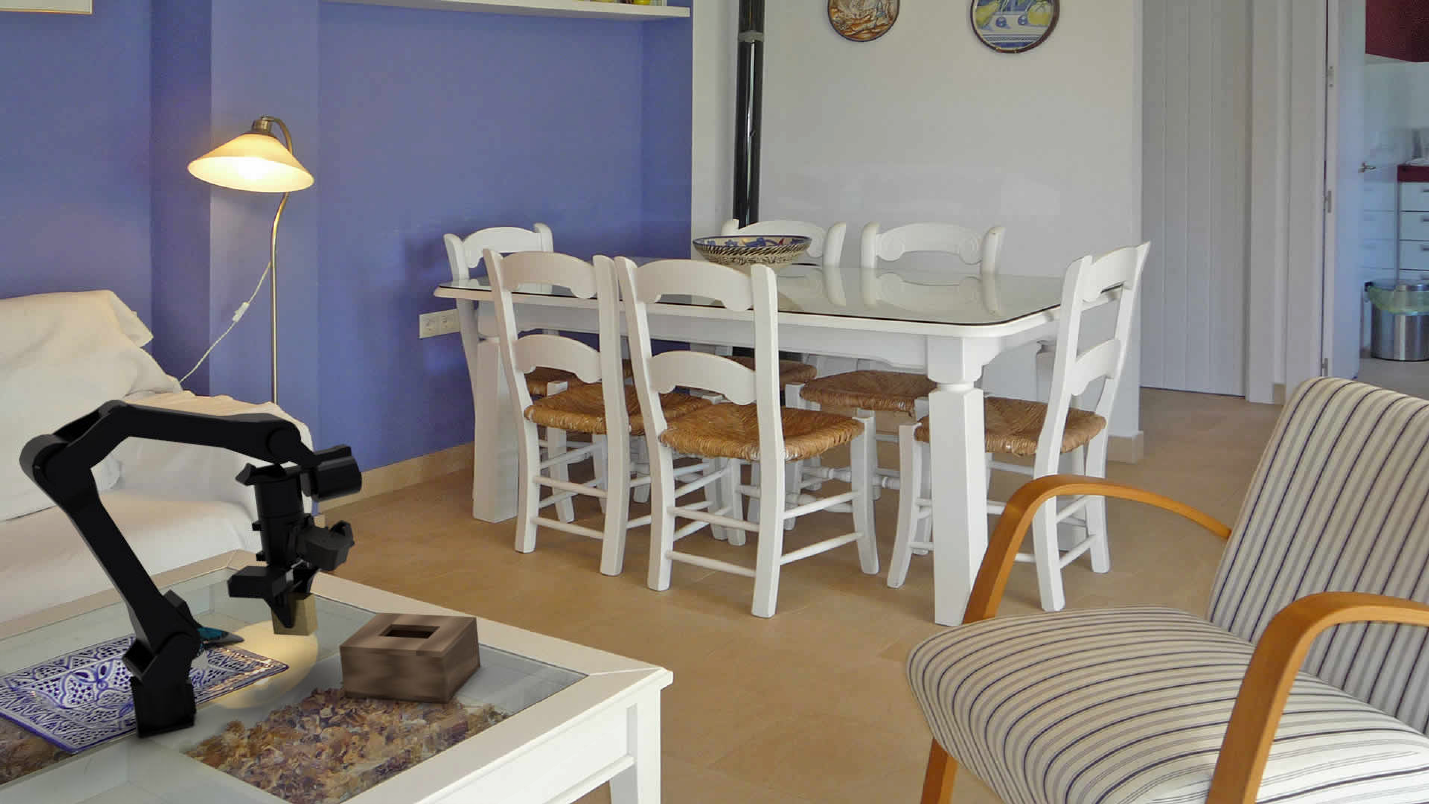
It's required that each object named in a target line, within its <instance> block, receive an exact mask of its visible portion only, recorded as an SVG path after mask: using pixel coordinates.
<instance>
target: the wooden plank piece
mask: <svg viewBox="0 0 1429 804" xmlns="http://www.w3.org/2000/svg"><path fill="white" fill-rule="evenodd" d="M270 613H271V615H270V616H271V621H272V629H273V635H276V636H277V635H279V636H280V635H281V636H297V637H298V636H299V637H300V636H301V637H310V636H311V635H312V634H313V633H314V632H316V631H317V630H318V629H319V624H318V616H317V615H318V614H317V609H316V598H315V592H310V593H302V592H294V627H293V628H292V629H288V628H285V627H284V626H283V625H282V623H281V622H280V621H279V619H278V618H277V616H276V615H275V614H274V612H273V611H272V610H271V609H270Z"/></svg>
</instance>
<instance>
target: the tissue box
mask: <svg viewBox="0 0 1429 804" xmlns="http://www.w3.org/2000/svg"><path fill="white" fill-rule="evenodd" d="M338 647H339V655H340V664H341V673H342V681H343V690H344V697H345V698H356V699H357V698H358V699H359V698H360V699H373V700H375V699H376V700H391V701H404V702H406V701H407V702H408V701H409V702H423V703H436V704H437V703H439V704H447V703H449V701H451V699H452V698H453V697H454V696H455V695H456V694H457V693H458V691H460V689H461V688H462V687H463V686H464V685H465V684H466V683H467V681H468V680H469V679H470V678H471V677H472V676H473V675H474V674H475V673H476V672H477V671H478V670H479V668H480V667H481V666H482V665H481V656H480V645H479V634H478V622H477V616H464V615H463V616H460V615H459V616H457V615H438V614H417V613H416V614H415V613H399V612H395V613H394V612H378V613H377V614H376V615H375V616H374V617H372V618H371V619H370V620H368V621H367V622H366V623H365V624H363V626H361V627H360V628H359V629H358V630H357V631H355V632H354V633H353V634H352V635H351V636H350V637H348V638H347V639H346V640H344V641H343V642H342V643H341V644H340V645H339V646H338Z"/></svg>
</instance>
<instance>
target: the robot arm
mask: <svg viewBox="0 0 1429 804" xmlns="http://www.w3.org/2000/svg"><path fill="white" fill-rule="evenodd" d="M128 438H139V439H147V440H155V441H161V442H162V441H163V442H170V443H179V444H187V445H196V446H205V447H212V448H219V449H220V448H221V449H225V450H227V451H231V452H235V453H237V454H241V455H244V456H247V457H250V458H252V459H256V460H259V461H262V462H266V463H270V464H268V465H263V466H258V467H257V466H256V465H254V464H252V463H250V462H246V463H245V466H244V468H243V469H242V470H241V471H240V472H238V474H236V476H235V477H234V480H235V481H236V482H238V483H240V484H241V485H243V486H245V487H251V486H253V491H254V499H255V504H256V505H255V506H256V513H257V520H255V521H254V522H252V523H251V530H252V532H259V536H260V542H261V543H260V544H261V550H260V551H258V552H255V561H256V562H265V565H246V566H244V567H242V568H241V569H239V570H238V571H236V572H235V573H233V574H232V575H231V576H230V577H229V578H228V579H227V581H226V586H227V588H226V589H227V595H228V597H229V598H236V599H238V598H239V599H257V600H260V599H262V600H263V601H264V602H265V603H266V604H267V605H268V607H269V608H270V611H271V610H272V611H273V612H274V614H275V615H276V616H277V618H278V619H279V621H280V622H281V623H282V625H283V626H284V627H285V628H288V629H292V628H293V627H294V592H302V593H311V590H312V586H313V582H314V579H315V577H316V575H317V574H318V573H320V571H325V572H334V571H335V570H337V568H338V567H339V566H341V565H342V564H345V563H346V562H347V559H348V556H349V551H350V550H351V549H352V548H353V547H354V546H355V545H356V542H355V540H354V534H353V530H352V525H351V523H350V522H348V521H345V520H342V519H341V520H339V521H337V522H336V523H334V524H333V525H332V526H331V527H330V526H328V525H325V526H324V527H321V526H317V525H316V523H315V522H316V521H315V517H314V516H313V515H312V512H305V506H304V498H303V495H304V496H305V497H306V498H310V499H311V500H312V501H313V502H314V503H318V504H319V503H323V502H326V501H330V500H336V499H339V498H343V497H348V496H351V495H355V494H356V495H357V494H358V493H360V492H361V490H362V486H363V475H362V471H361V470H360V469H359V465H358V462H357V460H356V458H355V456H353V454H352V447H351V446H350V445H347V444H345V443H342V444H337V445H336V444H335V445H334V446H333V447H330V448H325V449H320V450H316V451H313V450H311V449H310V448H309V447H308V446H307V445H306V444H305V443H304V442H303V441H302V435H301V431H300V430H299V428H298V426H297V425H296V424H295V423H293V422H292V421H289V420H287V419H285V418H282V417H281V416H280V417H279V416H278V415H275V414H272V413H270V412H250V413H249V412H248V413H243V412H242V413H236V414H231V415H230V414H229V415H216V414H208V413H201V412H194V411H188V410H187V411H186V410H179V409H171V408H166V407H158V406H150V405H144V404H136V403H129V402H125V401H124V400H120V399H111V400H108V401H105V402H103V403H102V404H101V405H100V406H98V407H97V408H95V409H94V410H92V411H91V412H89V413H87V414H84V415H83V416H81V417H78V418H76V419H74V420H72V421H70V422H68V423H66V424H64V425H62V426H61V427H59V428H58V429H57V430H54V431H53V432H52V433H47V434H45V433H44V434H40V435H37V436H35V437H32V438H31V439H29V440H28V441H27V442H26V443H25V445H24V446H23V447H22V449H21V452H20V455H19V458H18V462H19V466H20V469H21V470H22V472H23V473H24V474H25V476H27V477H28V479H29V480H31V481H32V483H33V484H34V485H35V486H36V487H38V489H40V491H42V493H43V494H45V495H46V497H48V498H49V499H50V500H51V502H53V503H54V504H55V506H57V507H58V508H59V509H60V510H61V511H62V512H63V513H64V514H65V515H66V517H67V518H68V520H69V522H70V523H71V524H72V526H73V527H74V528H75V530H76V531H77V533H78V535H79V536H80V537H81V539H82V540H83V542H84V544H85V545H86V547H87V548H88V550H89V551H90V553H91V554H92V556H93V557H94V558H95V560H96V561H97V563H98V564H99V566H100V567H101V569H102V571H103V572H104V574H105V575H106V576H107V578H108V579H109V581H110V582H111V584H112V586H113V587H114V588H115V589H116V591H117V593H118V594H119V596H120V597H121V598H122V600H123V602H124V603H125V606H126V609H127V613H128V617H129V621H130V624H131V627H132V628H133V631H134V633H135V636H136V637H135V639H134V640H133V641H132V643H131V644H130V645H129V647H128V648H127V649H126V651H124V653H123V654H122V656H121V658H120V660H121V662H122V664H123V665H124V667H125V668H126V670H127V671H128V672H129V673H131V674H132V675H131V676H129V685H130V690H131V692H130V693H131V696H132V697H131V698H132V703H133V709H134V721H135V730H136V737H137V738H145V737H149V736H153V735H157V734H161V733H166V732H170V731H174V730H179V729H182V728H187V727H191V726H194V725H195V719H194V716H195V715H196V714H197V713H198V712H197V711H198V710H197V704H196V699H195V690H194V685H193V680H192V677H191V676H190V673H191V669H192V667H191V664H192V660H193V659H194V658H195V657H196V655H197V654H198V652H199V650H200V647H201V644H202V645H203V643H202V637H201V635H200V632H199V631H198V630H197V629H200V628H202V627H203V626H204V625H202V624H201V623H200V621H198V622H197V619H196V618H194V616H193V614H192V612H191V609H190V607H189V605H188V602H187V601H186V600H185V599H184V598H182V597H181V596H180V595H178V594H177V593H176V592H175V591H173V589H169V590H167V591H166V592H165V593H164V594H162V593H161V592H160V590H159V588H158V587H157V586H156V584H155V582H154V580H152V578H151V576H150V575H149V573H148V571H147V570H146V568H145V567H144V566H143V564H142V563H141V562H142V561H140V560H139V558H138V556H137V555H136V554H135V552H134V550H133V549H132V547H131V545H130V544H129V543H128V541H127V539H126V538H125V536H124V535H123V534H122V533H123V532H121V531H120V528H119V527H118V526H117V524H116V523H115V521H114V520H113V518H112V517H111V515H110V514H109V512H108V511H107V509H106V507H105V505H104V503H102V500H101V498H100V494H99V490H98V485H97V481H96V478H95V475H94V474H93V471H92V468H93V467H95V466H97V465H98V464H100V463H101V462H102V461H103V460H105V459H106V458H107V457H108V455H110V454H111V453H112V452H113V451H114V450H115V449H116V448H117V447H118V446H119V445H120V444H121V443H122V442H124V441H125V440H127V439H128ZM287 463H293V464H295V465H292V466H287V467H283V466H282V465H285V464H287Z"/></svg>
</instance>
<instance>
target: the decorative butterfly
mask: <svg viewBox="0 0 1429 804" xmlns="http://www.w3.org/2000/svg"><path fill="white" fill-rule="evenodd" d="M210 614H212V612H211V613H209V614H208V613H207V614H205V615H201V618H202V617H203V618H204V617H205V616H208V615H210ZM196 621H197V620H196ZM197 622H199V621H197ZM202 626H203V627H202V628H200V629H197V630H198V631H199V632H200V635H201V637H202V644H201V647H200V650H199V652H198V654H197V655H196V657H195V658H194V659H193V660H192V664H191V669H199V670H202V671H203V670H205V671H206V670H207V669H208V667H209V660H208V656H207V653H206V650H205V647H204V645H203V643H204V642H208V643H219V642H220V643H222V642H223V643H224V642H226V643H227V642H241V641H245V640H246V639H245V638H244V637H242V636H240V635H238V634H235V633H232V632H229V631H226V630H223V629H219V628H214V627H208V626H204V625H202Z"/></svg>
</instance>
